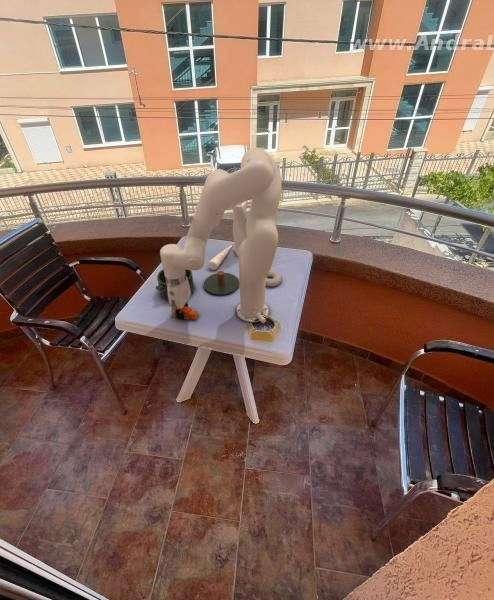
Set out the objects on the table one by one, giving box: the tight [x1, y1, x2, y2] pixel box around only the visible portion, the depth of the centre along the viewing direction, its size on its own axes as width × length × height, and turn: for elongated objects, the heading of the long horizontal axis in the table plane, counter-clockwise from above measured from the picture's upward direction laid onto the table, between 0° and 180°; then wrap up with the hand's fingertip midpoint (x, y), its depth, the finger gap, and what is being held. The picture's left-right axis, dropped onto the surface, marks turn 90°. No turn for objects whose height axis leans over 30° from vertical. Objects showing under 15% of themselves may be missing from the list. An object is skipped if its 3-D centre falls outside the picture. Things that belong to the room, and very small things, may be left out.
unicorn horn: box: [207, 244, 233, 271], centre depth 157 cm, size 5×24×5 cm, turn 152°
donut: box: [265, 269, 283, 288], centre depth 140 cm, size 10×3×10 cm
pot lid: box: [203, 270, 240, 296], centre depth 139 cm, size 16×16×7 cm
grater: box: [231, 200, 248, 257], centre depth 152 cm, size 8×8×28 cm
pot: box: [155, 269, 195, 301], centre depth 137 cm, size 15×20×8 cm
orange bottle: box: [172, 306, 199, 321], centre depth 126 cm, size 10×3×4 cm, turn 72°
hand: (182, 314), depth 127 cm, fingers open, 3 cm apart
